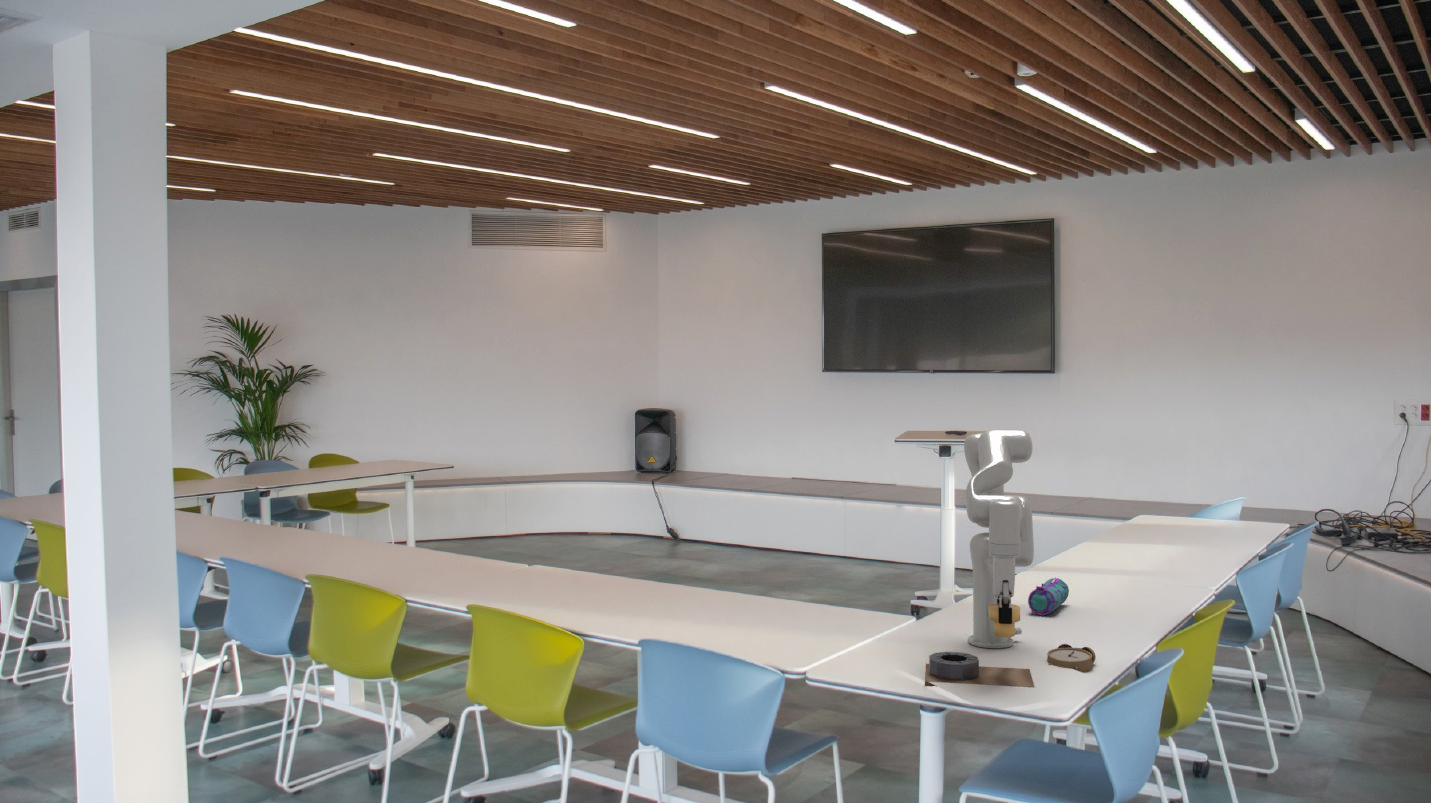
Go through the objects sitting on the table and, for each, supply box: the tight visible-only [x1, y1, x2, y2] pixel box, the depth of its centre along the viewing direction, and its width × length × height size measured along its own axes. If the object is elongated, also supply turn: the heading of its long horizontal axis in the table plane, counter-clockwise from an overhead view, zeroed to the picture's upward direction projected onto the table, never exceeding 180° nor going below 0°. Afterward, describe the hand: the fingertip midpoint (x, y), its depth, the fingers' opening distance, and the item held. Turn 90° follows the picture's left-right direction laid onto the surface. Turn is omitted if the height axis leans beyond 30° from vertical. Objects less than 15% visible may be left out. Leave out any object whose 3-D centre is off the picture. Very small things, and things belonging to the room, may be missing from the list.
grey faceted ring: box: [928, 651, 980, 681], centre depth 263 cm, size 12×12×4 cm
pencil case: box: [1027, 576, 1070, 617], centre depth 339 cm, size 21×9×10 cm, turn 150°
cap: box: [989, 603, 1021, 638], centre depth 261 cm, size 8×8×7 cm
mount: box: [924, 663, 1035, 688], centre depth 262 cm, size 26×16×1 cm, turn 77°
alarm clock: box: [1046, 643, 1097, 673], centre depth 275 cm, size 11×5×15 cm
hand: (1004, 618), depth 261 cm, fingers closed on cap, 7 cm apart
